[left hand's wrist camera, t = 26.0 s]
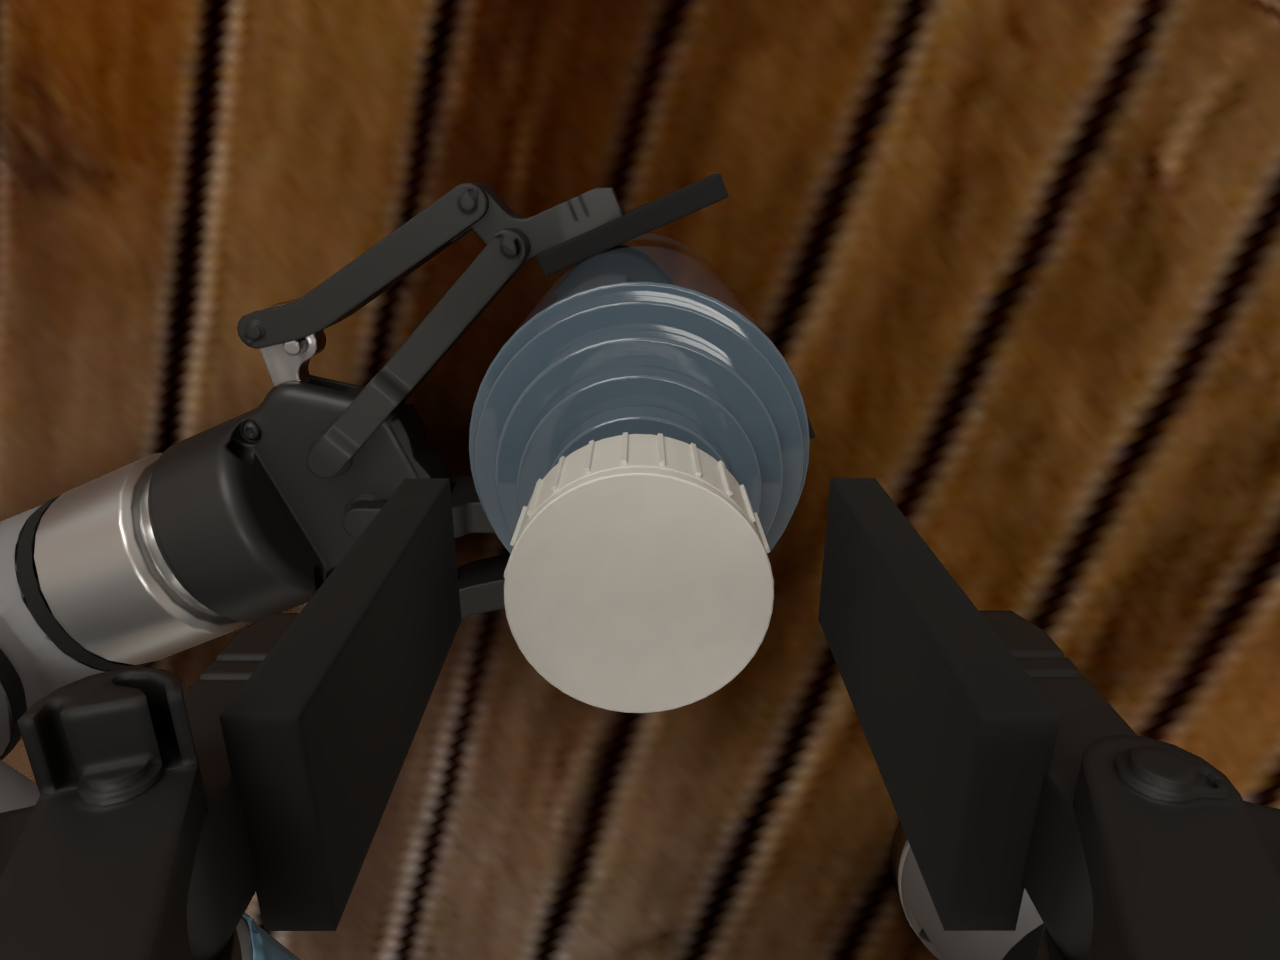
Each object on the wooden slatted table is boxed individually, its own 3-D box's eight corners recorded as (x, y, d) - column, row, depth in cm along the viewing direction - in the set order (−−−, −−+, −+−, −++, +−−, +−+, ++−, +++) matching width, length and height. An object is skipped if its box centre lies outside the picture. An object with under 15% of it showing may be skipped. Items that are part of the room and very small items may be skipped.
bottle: (645, 189, 33) (656, 213, 11) (770, 334, 35) (984, 591, 13) (508, 323, 35) (289, 564, 13) (634, 453, 37) (626, 849, 15)
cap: (791, 461, 14) (814, 505, 12) (723, 671, 15) (735, 739, 14) (544, 404, 14) (529, 440, 12) (499, 624, 15) (479, 688, 13)
